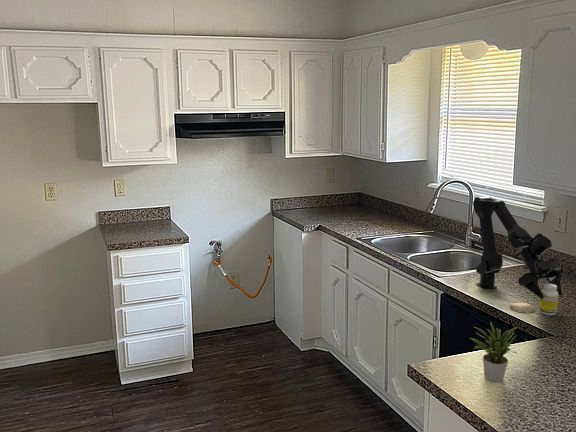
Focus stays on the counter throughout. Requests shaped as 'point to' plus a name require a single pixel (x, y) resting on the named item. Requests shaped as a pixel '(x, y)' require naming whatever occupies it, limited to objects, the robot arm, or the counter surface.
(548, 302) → the pill bottle
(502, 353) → the house plant
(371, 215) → the counter surface
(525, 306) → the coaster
